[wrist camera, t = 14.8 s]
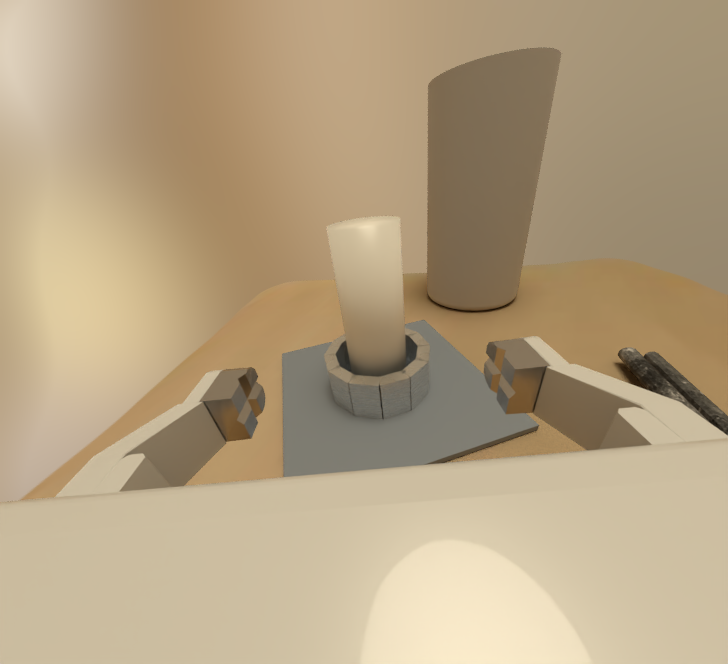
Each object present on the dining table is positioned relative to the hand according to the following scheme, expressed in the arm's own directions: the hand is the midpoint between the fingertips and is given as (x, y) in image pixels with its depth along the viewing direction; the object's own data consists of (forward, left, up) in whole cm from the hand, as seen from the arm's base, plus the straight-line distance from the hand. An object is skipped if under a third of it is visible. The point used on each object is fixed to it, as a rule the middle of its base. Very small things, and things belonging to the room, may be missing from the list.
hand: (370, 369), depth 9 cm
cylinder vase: (+26, -22, -12) cm, 36 cm away
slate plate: (+12, -3, -11) cm, 16 cm away
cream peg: (+13, -4, -11) cm, 17 cm away
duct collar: (+12, -3, -11) cm, 16 cm away
